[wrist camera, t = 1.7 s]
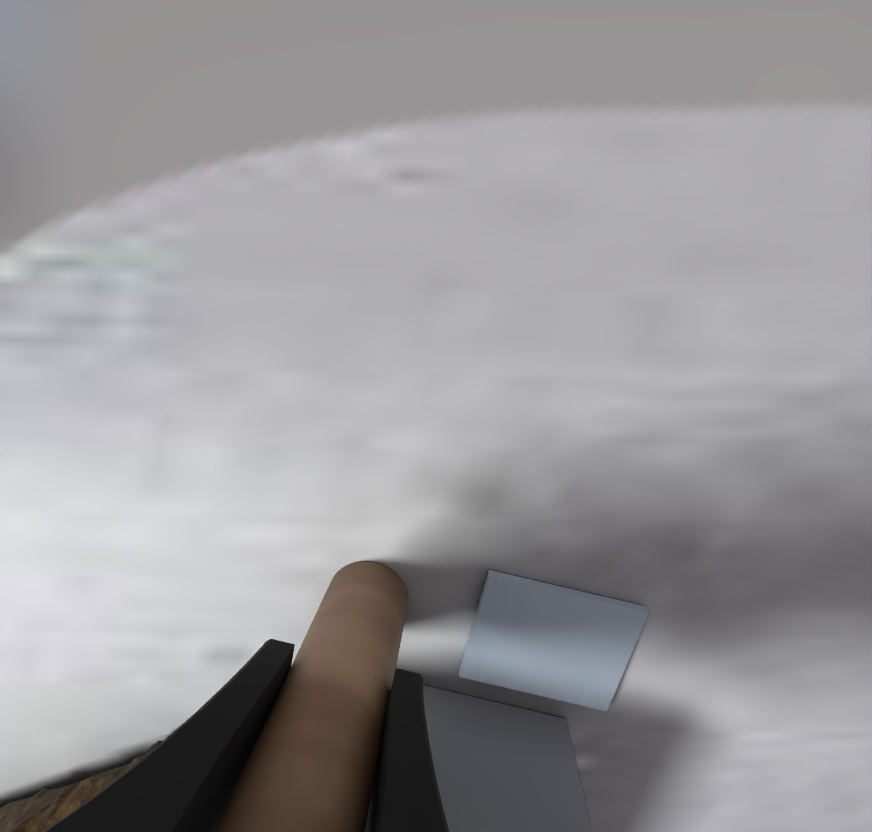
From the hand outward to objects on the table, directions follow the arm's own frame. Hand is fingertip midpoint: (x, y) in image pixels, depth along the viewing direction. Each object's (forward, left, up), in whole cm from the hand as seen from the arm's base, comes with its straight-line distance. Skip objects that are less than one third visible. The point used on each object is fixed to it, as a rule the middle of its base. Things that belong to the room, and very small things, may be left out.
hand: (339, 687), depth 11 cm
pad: (0, -6, -3) cm, 7 cm away
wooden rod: (0, 0, -3) cm, 3 cm away
